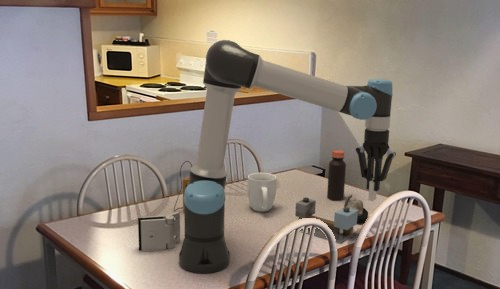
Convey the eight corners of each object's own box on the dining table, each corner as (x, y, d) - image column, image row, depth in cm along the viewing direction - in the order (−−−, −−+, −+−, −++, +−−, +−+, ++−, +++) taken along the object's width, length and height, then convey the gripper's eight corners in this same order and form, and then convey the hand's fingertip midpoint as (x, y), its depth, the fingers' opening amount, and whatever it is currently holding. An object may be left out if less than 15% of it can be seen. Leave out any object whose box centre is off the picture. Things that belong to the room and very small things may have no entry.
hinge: (179, 240, 163) (179, 211, 161) (184, 246, 158) (184, 217, 156) (137, 247, 157) (136, 217, 155) (141, 254, 153) (140, 223, 150)
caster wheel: (361, 231, 180) (336, 221, 185) (373, 216, 188) (348, 207, 193) (363, 216, 177) (338, 206, 181) (375, 201, 185) (350, 192, 190)
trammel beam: (346, 239, 166) (348, 213, 164) (294, 223, 179) (296, 199, 176) (356, 233, 172) (357, 207, 170) (305, 218, 184) (306, 194, 182)
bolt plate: (340, 243, 163) (340, 240, 163) (287, 227, 175) (288, 224, 175) (349, 237, 168) (349, 234, 168) (298, 222, 180) (298, 219, 180)
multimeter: (216, 205, 195) (216, 156, 191) (211, 214, 186) (211, 162, 181) (179, 203, 197) (178, 154, 192) (173, 212, 187) (172, 161, 183)
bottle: (323, 197, 207) (326, 151, 202) (333, 194, 211) (336, 148, 207) (336, 202, 202) (339, 154, 197) (346, 198, 206) (350, 151, 202)
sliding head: (346, 235, 166) (348, 212, 164) (333, 231, 169) (335, 209, 167) (356, 229, 171) (358, 207, 170) (343, 225, 174) (344, 203, 173)
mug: (279, 217, 184) (281, 183, 181) (250, 218, 183) (251, 184, 180) (272, 203, 199) (273, 172, 196) (245, 204, 197) (246, 172, 194)
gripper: (401, 129, 156) (395, 201, 161) (363, 124, 164) (358, 192, 169) (392, 133, 150) (386, 207, 155) (352, 127, 158) (348, 198, 163)
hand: (372, 199), depth 162 cm, fingers closed
